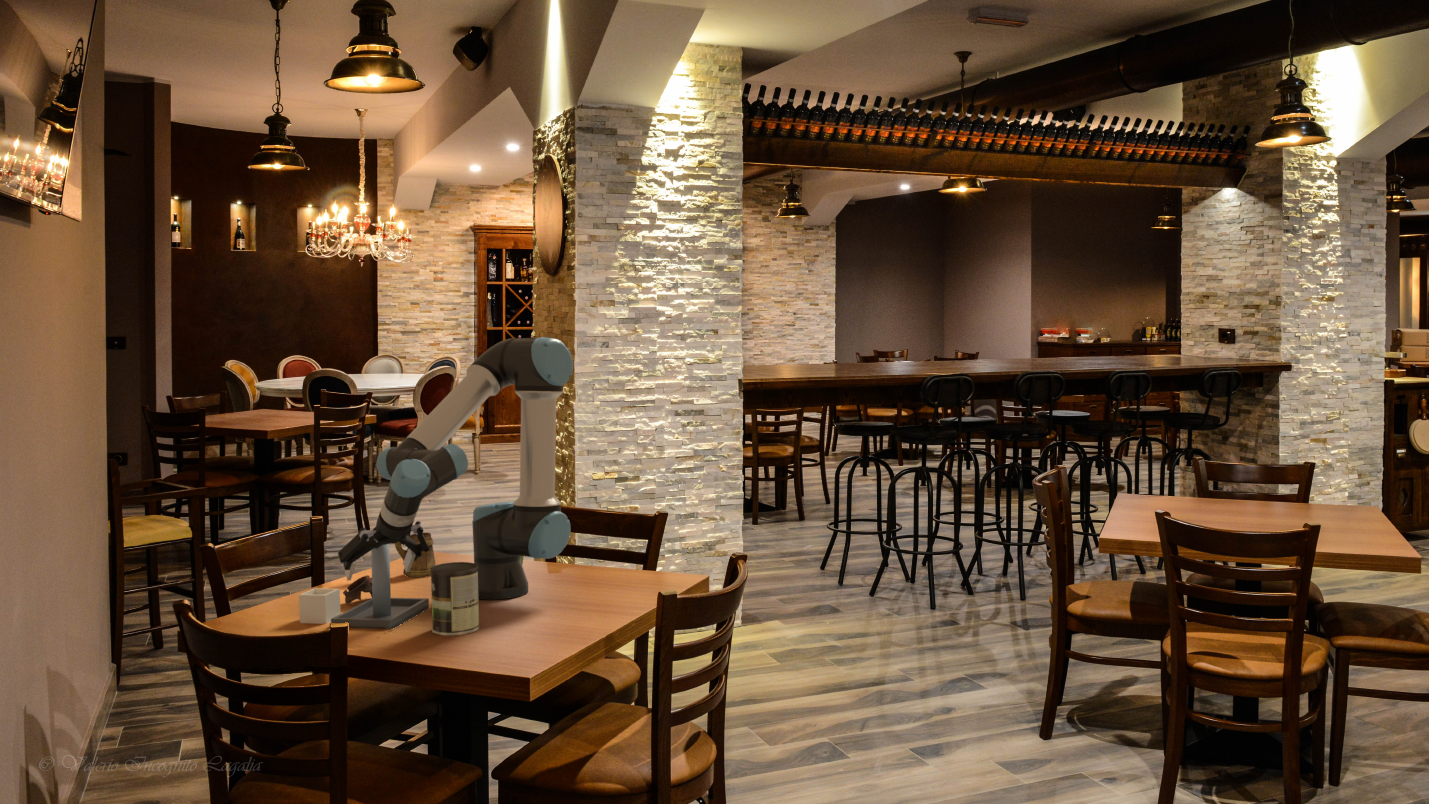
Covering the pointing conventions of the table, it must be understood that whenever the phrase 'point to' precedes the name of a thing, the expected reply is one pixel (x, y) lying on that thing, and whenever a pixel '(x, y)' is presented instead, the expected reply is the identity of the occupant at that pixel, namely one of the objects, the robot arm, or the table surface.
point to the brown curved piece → (358, 589)
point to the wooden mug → (419, 558)
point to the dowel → (381, 581)
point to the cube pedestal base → (319, 605)
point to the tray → (399, 614)
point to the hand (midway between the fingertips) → (377, 571)
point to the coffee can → (454, 598)
